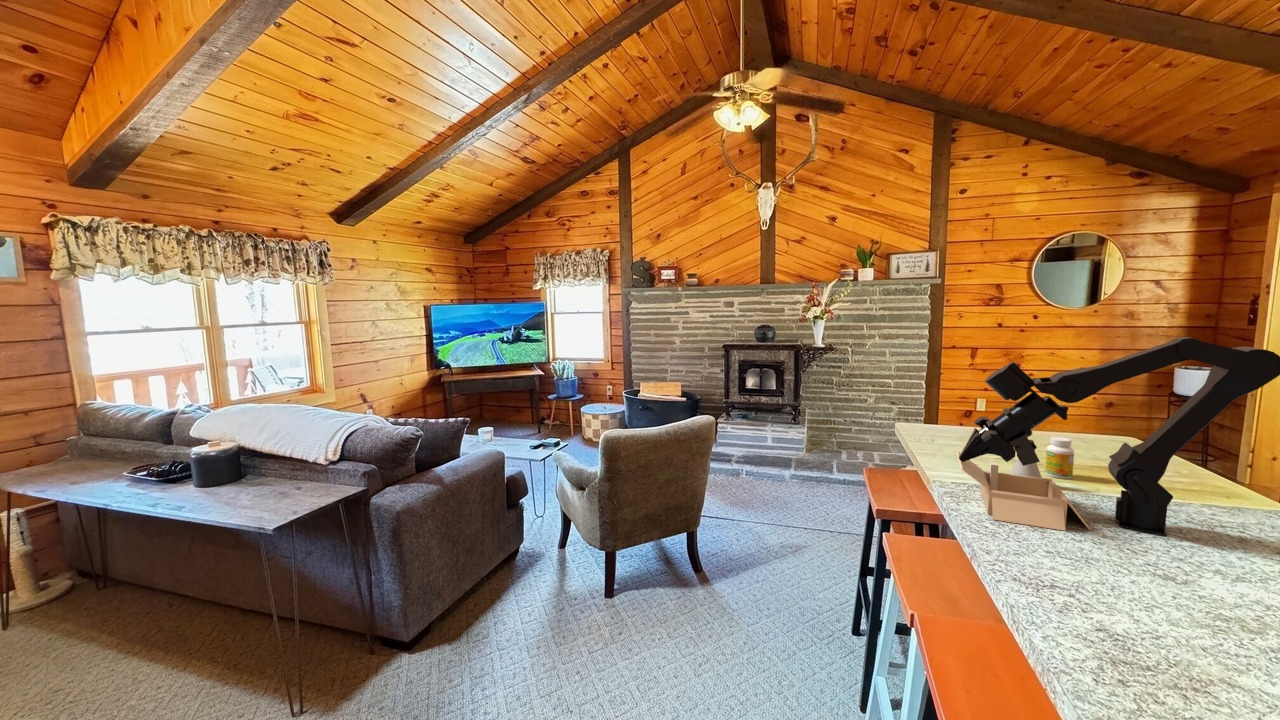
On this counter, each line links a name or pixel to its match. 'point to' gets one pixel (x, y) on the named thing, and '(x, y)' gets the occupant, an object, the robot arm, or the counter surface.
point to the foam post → (993, 476)
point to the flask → (1026, 469)
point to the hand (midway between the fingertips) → (960, 459)
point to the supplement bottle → (1059, 458)
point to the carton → (1027, 501)
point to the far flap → (974, 471)
